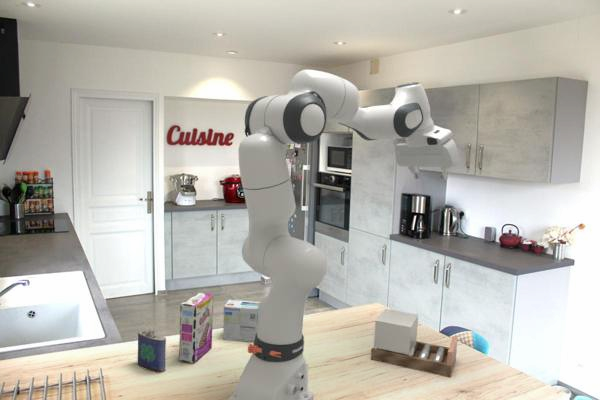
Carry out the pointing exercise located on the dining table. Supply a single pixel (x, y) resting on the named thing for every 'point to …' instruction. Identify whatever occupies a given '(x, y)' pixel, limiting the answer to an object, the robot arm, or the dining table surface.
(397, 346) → the off-white cardboard box
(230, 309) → the light bulb box
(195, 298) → the candy bar box
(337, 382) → the dining table surface
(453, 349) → the roller track
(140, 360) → the flask
